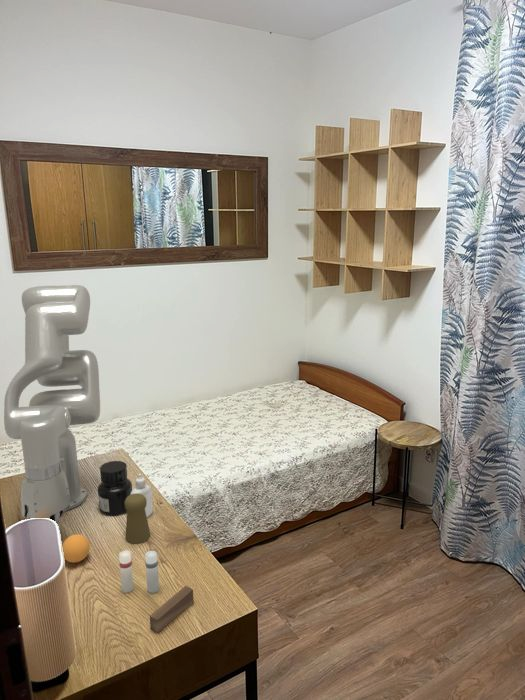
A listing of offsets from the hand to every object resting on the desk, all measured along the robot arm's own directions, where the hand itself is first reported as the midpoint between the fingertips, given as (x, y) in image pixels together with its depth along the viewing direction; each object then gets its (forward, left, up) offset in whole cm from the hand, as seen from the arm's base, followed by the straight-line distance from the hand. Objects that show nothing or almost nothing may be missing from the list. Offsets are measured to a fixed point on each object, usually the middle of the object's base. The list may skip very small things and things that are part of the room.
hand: (51, 540), depth 124 cm
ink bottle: (-1, +20, -2) cm, 20 cm away
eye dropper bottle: (+8, +21, -2) cm, 23 cm away
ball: (+9, 0, +1) cm, 9 cm away
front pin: (+26, 0, -2) cm, 26 cm away
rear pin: (+31, +3, -2) cm, 31 cm away
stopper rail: (+39, 0, -2) cm, 39 cm away
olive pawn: (+14, +14, -2) cm, 20 cm away
